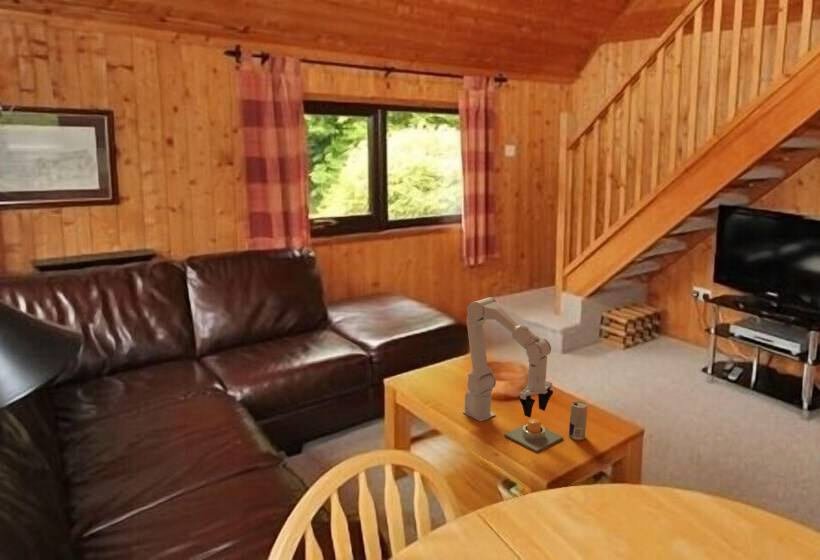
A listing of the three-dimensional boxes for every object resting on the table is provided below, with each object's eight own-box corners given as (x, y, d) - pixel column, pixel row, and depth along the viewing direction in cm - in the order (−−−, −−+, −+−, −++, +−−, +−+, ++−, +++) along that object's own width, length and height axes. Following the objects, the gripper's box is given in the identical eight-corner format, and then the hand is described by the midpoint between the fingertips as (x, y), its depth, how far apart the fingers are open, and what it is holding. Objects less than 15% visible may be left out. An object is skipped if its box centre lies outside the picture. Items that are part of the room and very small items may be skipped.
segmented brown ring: (518, 434, 203) (518, 428, 202) (532, 428, 207) (532, 421, 207) (535, 443, 197) (535, 436, 196) (549, 436, 202) (549, 429, 201)
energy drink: (572, 431, 207) (575, 399, 204) (587, 436, 203) (590, 404, 200) (566, 437, 203) (568, 405, 200) (581, 442, 199) (583, 409, 196)
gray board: (504, 436, 203) (504, 433, 203) (530, 423, 212) (530, 421, 212) (536, 452, 193) (536, 450, 193) (563, 439, 201) (563, 436, 201)
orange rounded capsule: (524, 435, 202) (525, 421, 201) (532, 430, 205) (533, 417, 204) (534, 440, 199) (535, 426, 198) (543, 435, 202) (543, 422, 201)
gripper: (532, 384, 189) (530, 423, 193) (560, 373, 198) (557, 410, 202) (515, 378, 195) (513, 415, 198) (543, 367, 204) (541, 403, 207)
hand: (534, 412), depth 200 cm, fingers open, 7 cm apart
